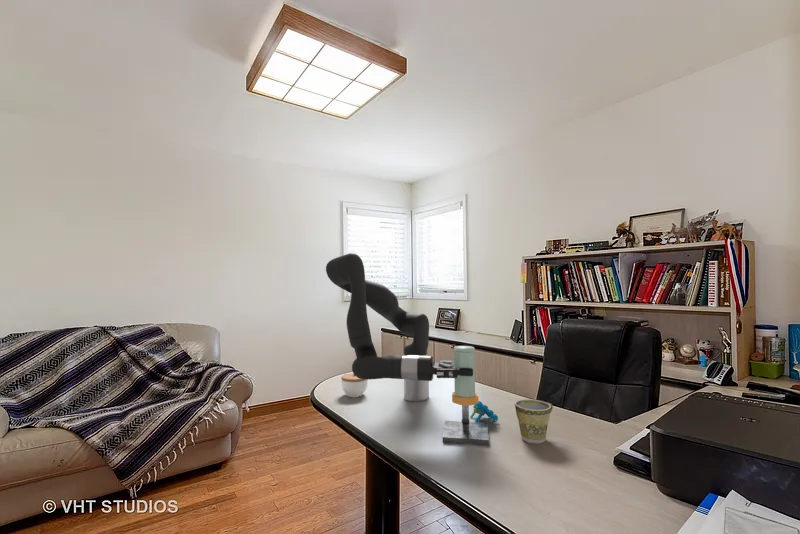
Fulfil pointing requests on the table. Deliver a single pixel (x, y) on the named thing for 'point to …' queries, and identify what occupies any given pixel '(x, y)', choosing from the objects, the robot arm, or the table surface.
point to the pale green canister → (465, 359)
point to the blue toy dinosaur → (483, 412)
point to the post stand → (465, 431)
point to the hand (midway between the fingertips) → (472, 369)
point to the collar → (465, 399)
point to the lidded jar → (353, 385)
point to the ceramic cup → (533, 419)
